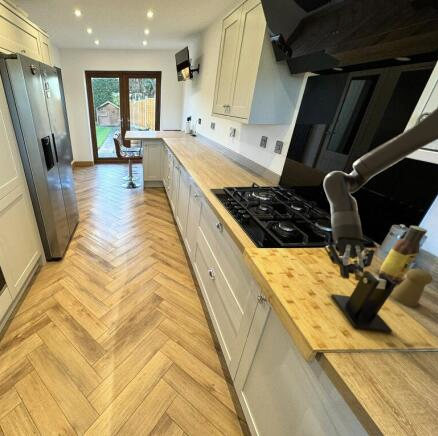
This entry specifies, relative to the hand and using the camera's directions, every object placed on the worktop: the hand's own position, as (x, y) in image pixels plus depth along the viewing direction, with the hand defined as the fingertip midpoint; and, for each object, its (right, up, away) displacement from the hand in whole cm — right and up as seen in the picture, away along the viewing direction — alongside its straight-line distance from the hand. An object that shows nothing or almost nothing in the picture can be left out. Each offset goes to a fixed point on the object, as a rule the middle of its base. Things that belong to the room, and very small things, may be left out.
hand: (352, 279), depth 73 cm
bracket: (-1, -9, -3) cm, 10 cm away
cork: (+19, -7, +3) cm, 20 cm away
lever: (0, +1, -4) cm, 4 cm away
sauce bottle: (+25, -2, +13) cm, 28 cm away
